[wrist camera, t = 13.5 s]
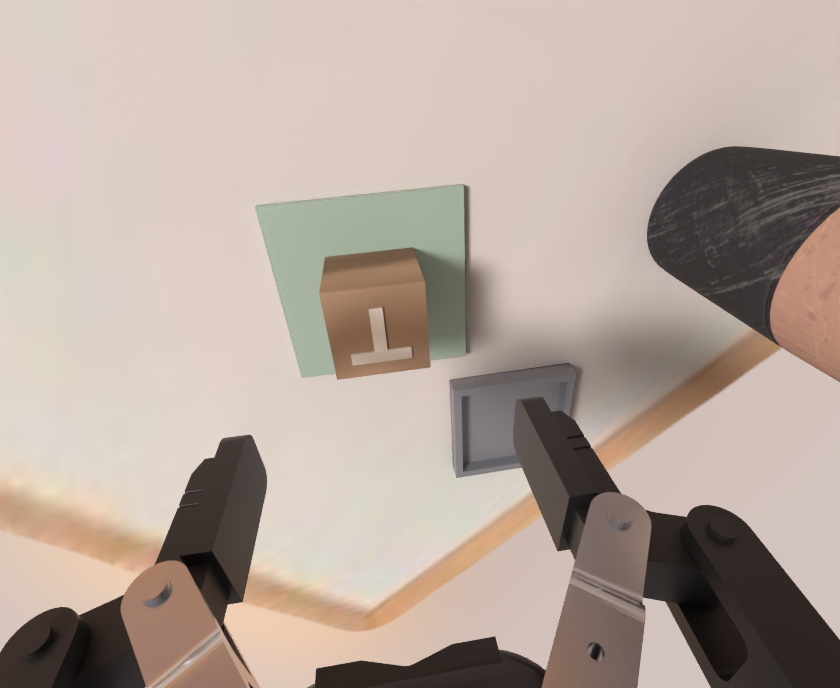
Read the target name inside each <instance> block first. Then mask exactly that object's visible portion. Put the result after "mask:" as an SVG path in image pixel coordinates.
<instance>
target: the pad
mask: <svg viewBox="0 0 840 688" xmlns="http://www.w3.org/2000/svg"><path fill="white" fill-rule="evenodd" d="M255 209H256V212H257V216H258V220H259V223H260V227H261V231H262V234H263V238H264V242H265V245H266V249H267V253H268V256H269V260H270V263H271V267H272V271H273V274H274V278H275V282H276V285H277V289H278V293H279V296H280V300H281V304H282V307H283V311H284V315H285V318H286V322H287V326H288V329H289V333H290V336H291V340H292V344H293V347H294V351H295V355H296V358H297V362H298V366H299V369H300V373H301V377H302V378H305V377H313V376H320V375H327V374H335V373H336V371H335V367H334V362H333V357H332V353H331V348H330V343H329V339H328V334H327V329H326V324H325V320H324V315H323V310H322V306H321V301H320V296H319V291H320V284H321V278H322V272H323V266H324V259H325V257H329V256H338V255H347V254H356V253H365V252H374V251H383V250H392V249H402V248H411V247H412V248H413V251H414V253H415V256H416V259H417V261H418V264H419V267H420V269H421V272H422V275H423V277H424V280H425V288H426V304H427V320H428V336H429V352H430V360H438V359H445V358H452V357H460V356H466V316H465V236H464V186H463V185H462V184H460V185H450V186H440V187H430V188H421V189H411V190H401V191H391V192H382V193H372V194H362V195H352V196H343V197H333V198H323V199H313V200H304V201H294V202H284V203H274V204H265V205H257V206H256V207H255Z"/></svg>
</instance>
